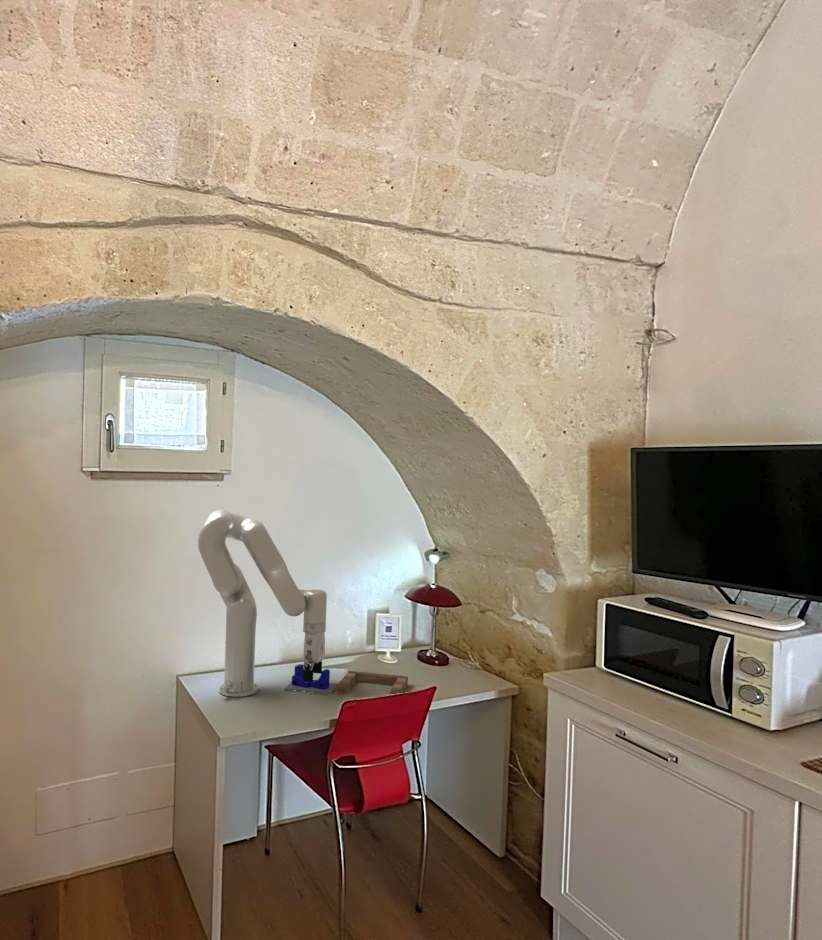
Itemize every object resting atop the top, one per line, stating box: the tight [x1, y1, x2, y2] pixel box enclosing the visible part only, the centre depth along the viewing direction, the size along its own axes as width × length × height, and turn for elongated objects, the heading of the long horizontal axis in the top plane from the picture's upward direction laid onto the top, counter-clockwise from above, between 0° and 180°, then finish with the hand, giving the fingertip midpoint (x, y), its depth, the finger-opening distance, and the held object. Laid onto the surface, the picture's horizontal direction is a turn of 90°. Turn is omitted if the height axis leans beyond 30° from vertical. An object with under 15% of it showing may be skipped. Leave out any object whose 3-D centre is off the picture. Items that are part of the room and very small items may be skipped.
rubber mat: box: [284, 681, 338, 695], centre depth 246 cm, size 10×16×1 cm, turn 80°
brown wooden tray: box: [336, 670, 409, 695], centre depth 247 cm, size 16×21×3 cm
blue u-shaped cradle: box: [291, 663, 331, 690], centre depth 246 cm, size 12×4×6 cm, turn 65°
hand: (312, 677), depth 246 cm, fingers open, 9 cm apart
